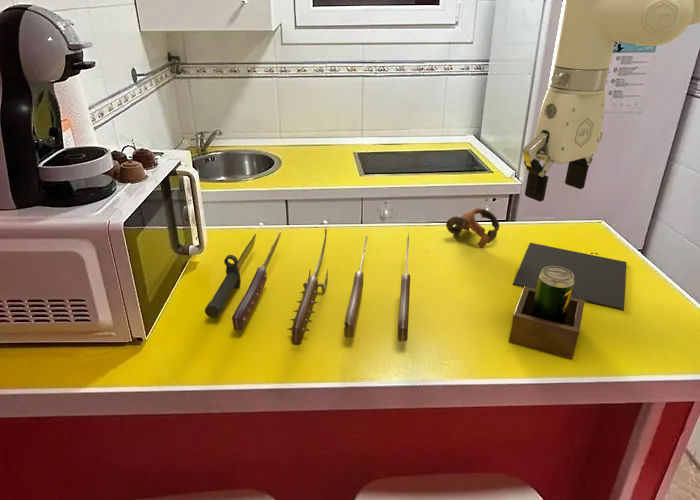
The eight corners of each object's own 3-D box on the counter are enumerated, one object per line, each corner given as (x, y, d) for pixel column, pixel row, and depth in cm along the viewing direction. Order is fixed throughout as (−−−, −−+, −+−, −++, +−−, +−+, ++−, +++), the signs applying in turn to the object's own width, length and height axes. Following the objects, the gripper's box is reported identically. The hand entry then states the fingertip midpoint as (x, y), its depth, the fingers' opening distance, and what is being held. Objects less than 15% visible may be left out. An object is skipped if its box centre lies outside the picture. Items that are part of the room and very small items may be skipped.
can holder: (578, 326, 91) (585, 300, 88) (572, 359, 83) (579, 331, 80) (519, 311, 94) (524, 286, 92) (508, 342, 87) (513, 314, 84)
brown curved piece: (476, 228, 127) (495, 206, 121) (488, 259, 122) (508, 238, 116) (434, 222, 122) (451, 199, 116) (444, 254, 117) (463, 232, 111)
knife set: (411, 252, 112) (412, 220, 108) (406, 355, 84) (408, 317, 80) (254, 245, 116) (250, 214, 112) (199, 341, 88) (191, 304, 84)
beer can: (526, 339, 87) (539, 278, 82) (528, 322, 92) (541, 262, 86) (560, 347, 85) (575, 285, 80) (561, 328, 90) (575, 268, 84)
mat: (626, 263, 111) (626, 261, 111) (623, 310, 95) (624, 309, 95) (529, 243, 119) (530, 242, 118) (512, 284, 103) (512, 283, 103)
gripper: (560, 90, 67) (537, 212, 75) (636, 78, 75) (608, 189, 83) (515, 81, 72) (498, 195, 80) (590, 71, 81) (568, 175, 89)
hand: (554, 192), depth 82 cm, fingers open, 9 cm apart
